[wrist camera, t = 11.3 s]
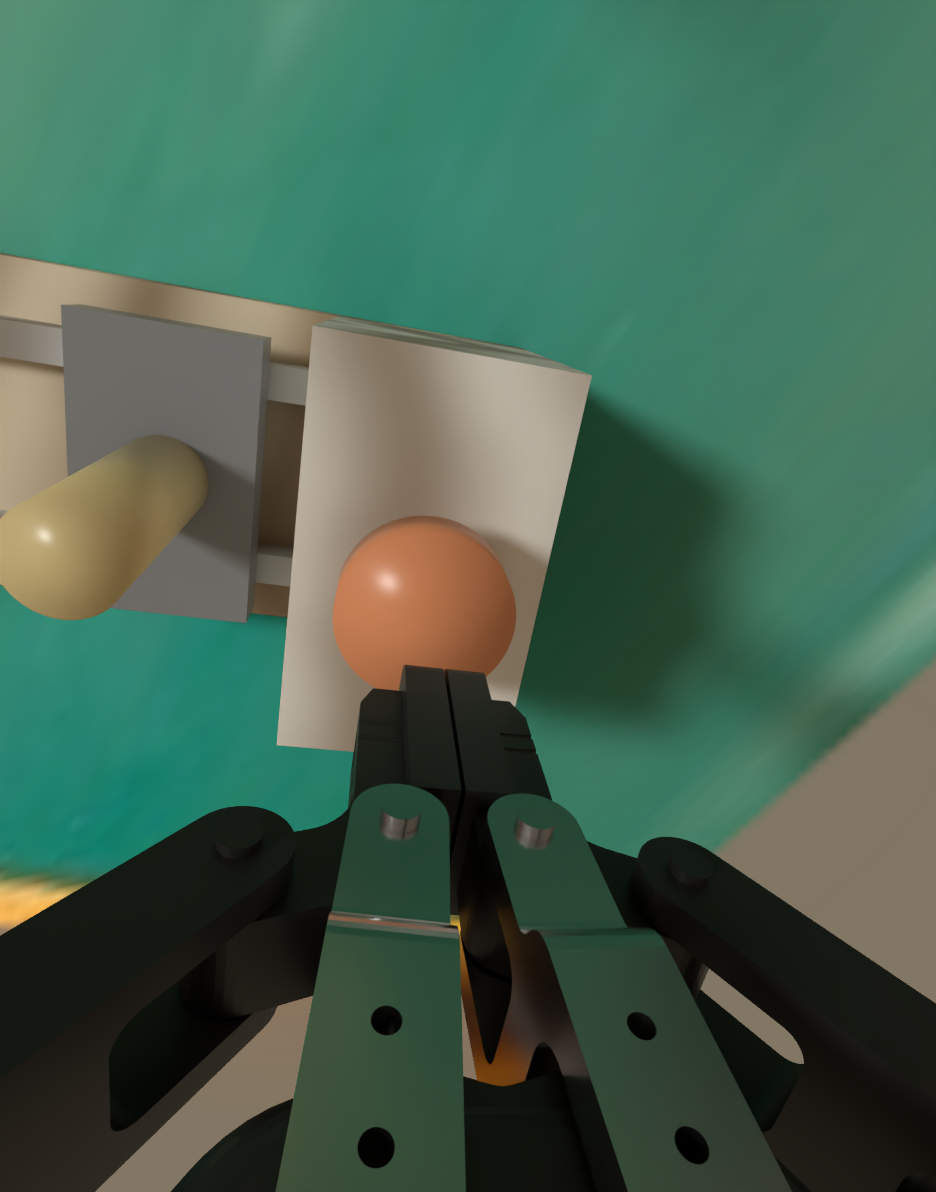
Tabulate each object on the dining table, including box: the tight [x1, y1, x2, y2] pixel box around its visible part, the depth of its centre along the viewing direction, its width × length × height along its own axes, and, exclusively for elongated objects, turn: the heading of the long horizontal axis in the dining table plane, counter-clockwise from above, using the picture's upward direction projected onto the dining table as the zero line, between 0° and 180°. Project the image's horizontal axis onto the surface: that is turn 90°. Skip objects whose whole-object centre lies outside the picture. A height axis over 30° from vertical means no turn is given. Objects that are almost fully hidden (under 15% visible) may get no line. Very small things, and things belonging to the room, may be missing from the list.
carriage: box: [0, 304, 271, 623], centre depth 21 cm, size 6×10×10 cm, turn 170°
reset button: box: [333, 515, 516, 691], centre depth 17 cm, size 4×4×1 cm
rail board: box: [0, 253, 592, 752], centre depth 23 cm, size 28×12×10 cm, turn 80°
